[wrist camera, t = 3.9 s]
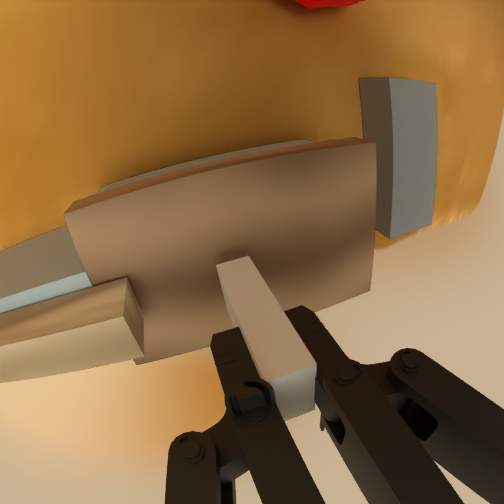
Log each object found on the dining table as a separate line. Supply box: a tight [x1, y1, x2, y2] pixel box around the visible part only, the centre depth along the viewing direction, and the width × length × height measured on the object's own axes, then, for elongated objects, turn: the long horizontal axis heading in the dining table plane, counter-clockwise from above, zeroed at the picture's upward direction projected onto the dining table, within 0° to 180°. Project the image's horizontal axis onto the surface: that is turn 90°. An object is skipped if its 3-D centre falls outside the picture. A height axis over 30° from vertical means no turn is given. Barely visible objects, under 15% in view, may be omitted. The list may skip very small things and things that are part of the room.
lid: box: [63, 137, 377, 365], centre depth 16 cm, size 10×16×2 cm, turn 99°
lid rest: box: [359, 78, 438, 239], centre depth 23 cm, size 14×6×4 cm, turn 9°
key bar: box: [0, 277, 145, 383], centre depth 11 cm, size 2×12×3 cm, turn 99°
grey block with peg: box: [0, 226, 93, 314], centre depth 15 cm, size 4×12×13 cm, turn 99°
